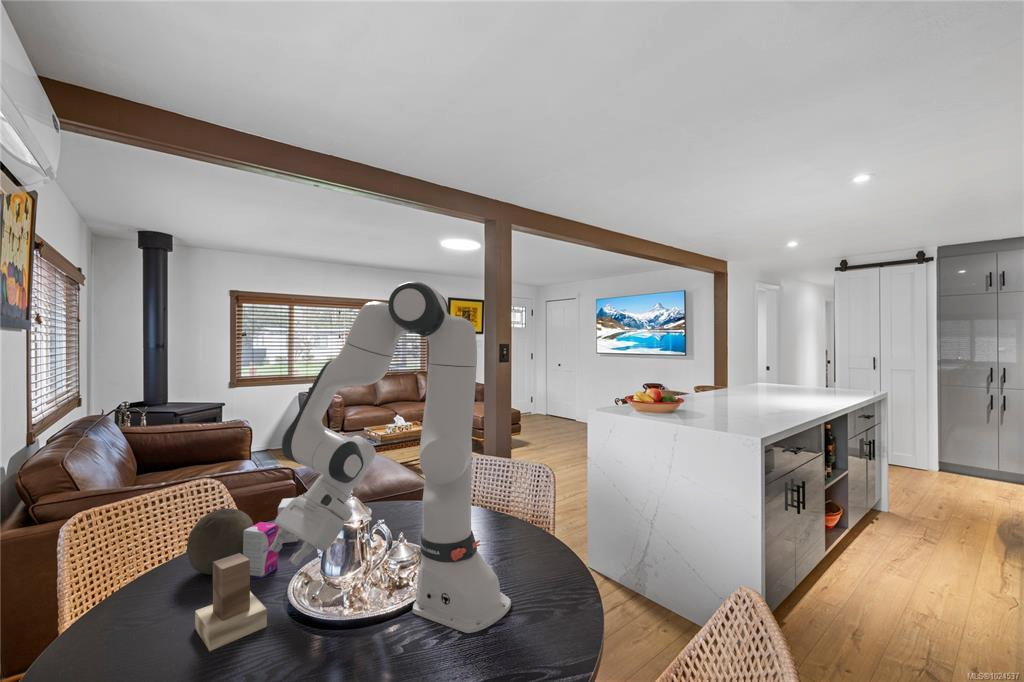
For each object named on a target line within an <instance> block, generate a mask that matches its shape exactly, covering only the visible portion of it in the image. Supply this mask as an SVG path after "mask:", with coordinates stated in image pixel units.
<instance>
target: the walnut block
mask: <svg viewBox="0 0 1024 682" xmlns="http://www.w3.org/2000/svg"><path fill="white" fill-rule="evenodd" d="M250 592H251V577H250V560H249V559H248V558H247V557H245V556H244V555H242V554H241V553H238V554H235V555H232V556H229V557H226V558H223V559H220V560H217V561H214V562H213V574H212V604H213V612H214V613H215V614H216V615H217V616H218V617H219V618H220V619H221V620H222V621H223V620H226V619H228V618H230V617H233V616H235V615H237V614H240V613H242V612H244V611H247V610H249V609H250Z"/></svg>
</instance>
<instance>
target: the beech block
mask: <svg viewBox="0 0 1024 682" xmlns="http://www.w3.org/2000/svg"><path fill="white" fill-rule="evenodd" d="M267 615H268V609H267V608H266V606H265V605H264V604H263V603H262V602H261V601H260V600H259V599H258V597H256V595H254V594H253V593H252V591H250V609H249V610H247V611H244V612H242V613H240V614H237V615H235V616H233V617H230V618H228V619H226V620H223V621H222V620H221V619H220V618H219V617H218V616H217V615H216V614H215V613H214V612H213V603H212V604H210V605H207V606H205V607H201V608H198V609H196V610H195V613H194V618H195V621H194V625H195V630H196V632H197V635H199V637H200V639H201V640H202V642H203V643H204V645H205V646H206V648H207V650H208V652H212V651H214V650H217V649H218V648H220V647H223V646H225V645H228V644H230V643H232V642H235V641H237V640H238V639H241V638H243V637H245V636H248V635H250V634H253V633H255V632H257V631H260V630H262V629H264V628H266V627H267V626H268V623H267V622H268V621H267V620H268V618H267V617H268V616H267Z"/></svg>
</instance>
